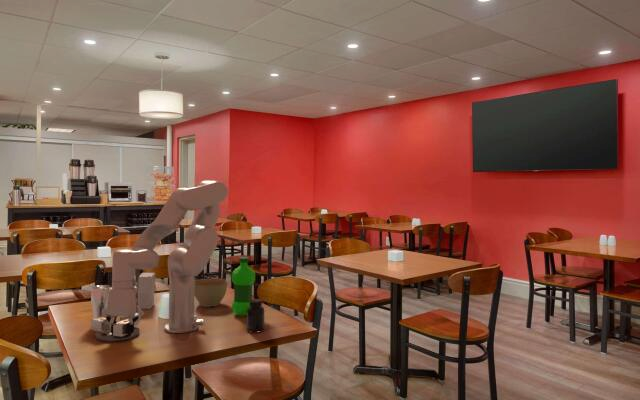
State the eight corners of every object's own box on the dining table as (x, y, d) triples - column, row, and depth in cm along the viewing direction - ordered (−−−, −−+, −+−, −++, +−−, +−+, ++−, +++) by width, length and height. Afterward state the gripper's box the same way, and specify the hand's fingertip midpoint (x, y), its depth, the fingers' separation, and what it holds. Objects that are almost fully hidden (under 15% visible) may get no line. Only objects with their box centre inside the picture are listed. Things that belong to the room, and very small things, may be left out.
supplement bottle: (257, 326, 184) (257, 297, 183) (267, 330, 179) (268, 300, 178) (243, 330, 179) (243, 299, 178) (253, 334, 174) (254, 303, 174)
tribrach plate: (146, 329, 177) (146, 324, 177) (127, 343, 162) (127, 337, 162) (109, 327, 178) (109, 322, 178) (86, 341, 163) (86, 335, 163)
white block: (99, 328, 172) (100, 315, 171) (110, 331, 169) (110, 318, 168) (91, 331, 168) (91, 317, 168) (101, 334, 166) (101, 320, 165)
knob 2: (113, 337, 163) (113, 323, 162) (124, 332, 168) (124, 318, 168) (121, 338, 162) (121, 324, 162) (132, 333, 168) (132, 319, 167)
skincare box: (141, 304, 212) (141, 272, 211) (155, 304, 213) (155, 272, 212) (137, 309, 203) (137, 276, 203) (151, 309, 204) (151, 276, 204)
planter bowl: (232, 301, 220) (233, 279, 220) (217, 310, 204) (218, 286, 204) (202, 299, 224) (202, 277, 223) (185, 307, 208) (185, 284, 208)
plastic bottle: (250, 318, 194) (251, 260, 193) (227, 316, 196) (228, 259, 195) (257, 312, 204) (259, 256, 203) (235, 310, 205) (236, 255, 204)
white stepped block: (132, 328, 173) (132, 315, 172) (119, 326, 175) (120, 313, 174) (139, 326, 176) (139, 313, 176) (126, 324, 178) (126, 311, 178)
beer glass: (102, 327, 178) (102, 289, 177) (86, 326, 179) (87, 288, 178) (114, 322, 184) (114, 285, 184) (98, 320, 186) (99, 284, 185)
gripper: (150, 282, 169) (149, 331, 169) (102, 281, 167) (102, 330, 168) (144, 286, 161) (143, 337, 162) (94, 286, 160) (93, 337, 160)
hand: (122, 333), depth 165 cm, fingers closed on knob 2, 4 cm apart
